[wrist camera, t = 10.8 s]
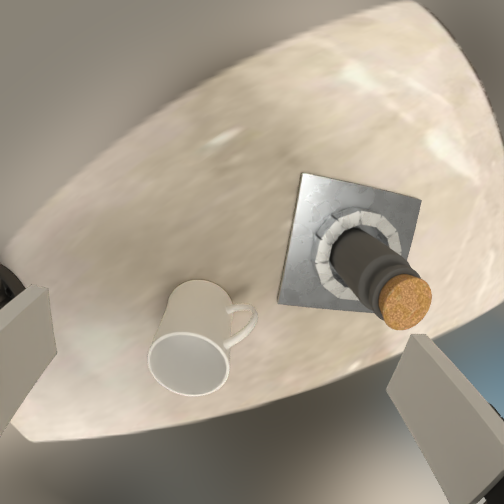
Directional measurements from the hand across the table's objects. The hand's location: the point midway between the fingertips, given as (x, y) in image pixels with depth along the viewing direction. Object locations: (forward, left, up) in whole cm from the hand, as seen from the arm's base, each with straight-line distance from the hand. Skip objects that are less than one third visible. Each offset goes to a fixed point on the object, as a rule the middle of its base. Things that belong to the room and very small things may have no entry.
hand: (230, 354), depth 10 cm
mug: (-1, -13, -28) cm, 30 cm away
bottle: (+14, -2, -27) cm, 30 cm away
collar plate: (+15, -3, -27) cm, 31 cm away
